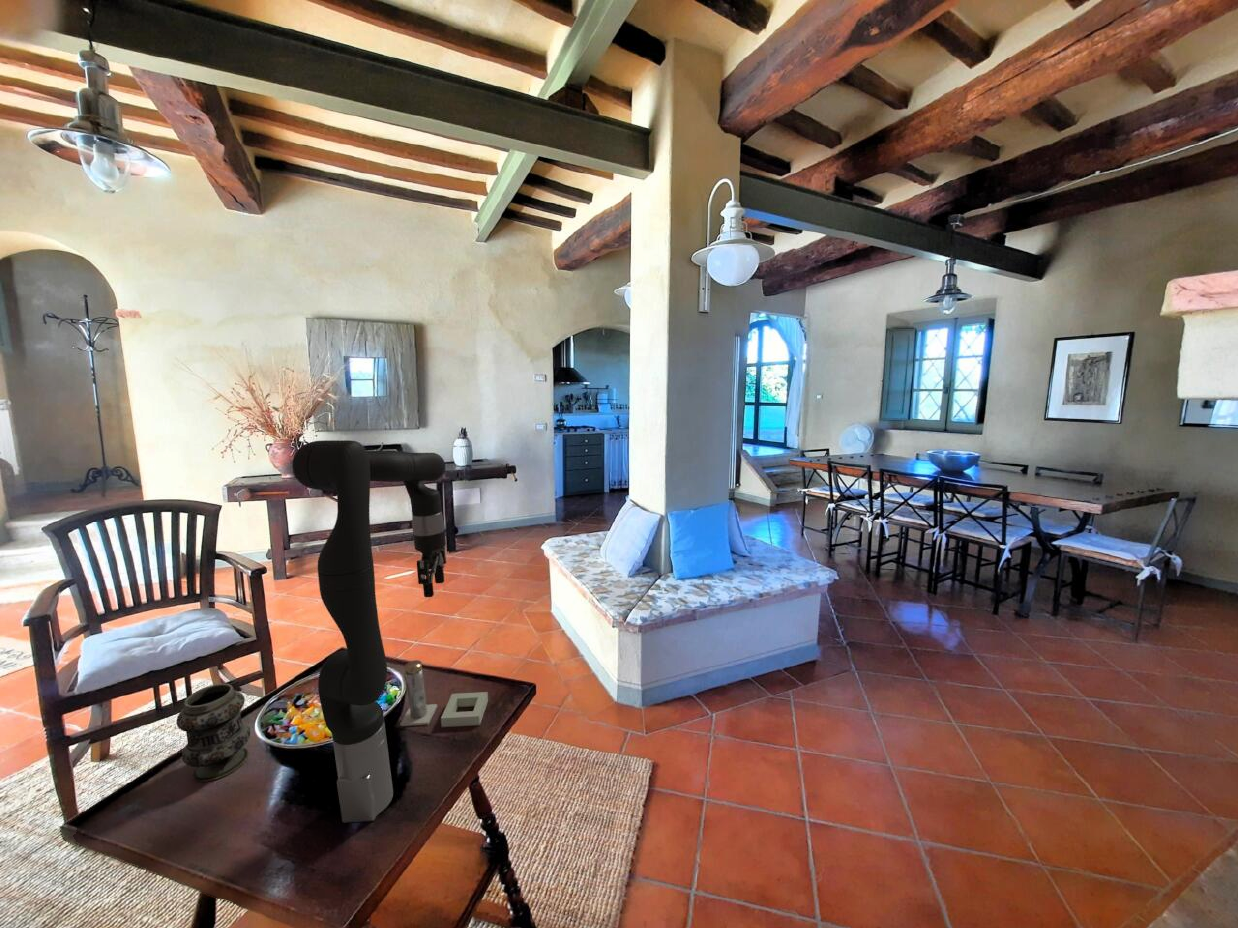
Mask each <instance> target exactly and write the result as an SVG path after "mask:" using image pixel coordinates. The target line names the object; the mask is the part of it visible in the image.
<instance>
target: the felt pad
mask: <svg viewBox="0 0 1238 928" xmlns="http://www.w3.org/2000/svg"><path fill="white" fill-rule="evenodd" d="M426 705H427V714H426V715H425V716H424V717H422V718H420V719H412V718H411V714H410V706H409V708H408V709H407V710H406V713H405V714H404V716H403V717H402V720H401V722H400V723H399V726H400V727H410V726H423V725H424V726H426V725H427V726H428V725H429V724H430V723H431V720H432V718H433V716H434V713H435V712H436V710H437V708H438V704H437V703H434V704H433V703H432V704H426Z"/></svg>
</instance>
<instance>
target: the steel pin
mask: <svg viewBox="0 0 1238 928" xmlns="http://www.w3.org/2000/svg"><path fill="white" fill-rule="evenodd" d="M422 664H423V663H422V661H421V660H418V659H417V660H412V661H409V662H407V663H406V664H405V665H404V673H405V680H406V690H407V696H408V697H407V698H408V705H409V707H410V714H411V718H412V719H420V718H422V717H424V716H425V715H426V714H427V705H428V704H427V698H426V689H425V680H424V672H423V665H422Z"/></svg>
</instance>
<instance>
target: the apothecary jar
mask: <svg viewBox="0 0 1238 928" xmlns="http://www.w3.org/2000/svg"><path fill="white" fill-rule="evenodd" d="M245 701H246V700H245V696H244V695H243V693H242V692H240V691H238V690H235V689H234V687H233V685H232V684H229V683H217V684H212V685H208V686H205V687H204V688H201V689H198V690H196V691H195V692H192V694H190V695H189V696H188V697H186V699H185V700H184V703H183V706H184V707H183V709H182V710H181V711H180V712H179V713H178V715H177V718H176V727H177V728H178V729H180V730H181V731H183V732H185V733H186V741H187V744H185V746H184V748H183V749H182V753H181V760H182V762H183V763H184V764H185V765H186V766H189V767H193V768H196V769H195V770H194V772H193V774H194V775H192V776H194V777H193V780H195V781H196V780H197V782H198V781H199V782H198V783H207V782H208V781H209V782H212V781H217V780H218V779H222V778H224V777H227V776H228V775H230V774H231V773H233V772H235V771H236V770H238V769H239V768H240V767H241V766H243V764H245V762H246V761H247V759H248V758H249V751H248V749H247V748H245V747H244V746H245V745H246V744H247V742H248V741H249V739H250V737H251V728H250V727H249V725H248V724H247V723H245V722H243V721H242V717H241V716H242V714H241V710H242V709H243V708H244V705H245Z"/></svg>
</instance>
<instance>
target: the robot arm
mask: <svg viewBox="0 0 1238 928" xmlns="http://www.w3.org/2000/svg"><path fill="white" fill-rule="evenodd" d="M445 462H446V461H445V460H444V458H443V457H442V456H441V455H440V454H438V453H435V452H409V451H400V450H366V448H365V446H364V445H363V444H362V443H361V442H359V441H356V440H349V439H348V440H324V439H323V440H314V441H311V442H308V443H305V444H303V445H302V446H300V447H299V448H298V449H297V450H296V452H295V454H294V456H293V459H292V472H293V474H294V477H295V478H296V480H297V482H299V483H300V484H301V485H302V486H303V487H306V488H309V489H312V490H316V491H317V490H319V491H335V492H336V499H337V501H336V502H337V514H336V520H335V523H334V525H333V528H332V531H331V532H330V534H329V536H328V538H327V540H326V542H325V543H324V545H323V547H322V549H321V551H320V553H319V556H318V559H317V575H318V576H317V577H318V585H319V592H320V598H321V600H322V603H323V606H324V607H325V609H326V610H327V612H328V613H329V615H330V617H331V619H332V620H333V621H334V623H335V625H336V626H337V627H338V629H339V631H340V633H341V634H342V636H343V640H344V642H345V646H346V649H343V650H339V651H338V650H337V652H333V654H331V655H330V656H329V657H328V658H327V659H326V660H325V661H324V663H323V665H322V667H321V669H320V672H319V675H318V681H317V688H318V689H317V690H318V691H317V692H318V697H319V702H320V707H321V711H322V716H323V721H324V724H325V726H326V728H327V730H329V731H330V734H331V738H332V744H333V750H334V757H335V765H336V766H335V767H336V772H337V780H336V787H337V793H338V800H339V806H340V807H339V808H340V813H341V820H342V821H341V822H342V823H353V822H354V823H355V822H356V823H357V822H358V823H359V822H372V821H375V820H376V818H377V816H379V814H380V813H382V812H383V811H384V810H386V808H387V807H388V806H389V804H390V803H391V802H392V799H393V796H394V788H393V787H394V786H393V780H392V773H391V765H390V757H389V756H390V755H389V748H388V742H387V734H386V725H385V717H384V712H383V710H382V708H381V706H380V705H379V704H378V703H377V702H375V701H376V700H377V699H378V698H379V696H380V695H381V693H382V691H383V689H384V687H385V688H386V682H387V676H388V664H387V657H386V654H385V648H384V644H383V638H382V633H381V629H380V622H379V614H378V607H377V606H378V605H377V599H376V598H377V595H376V583H375V582H376V579H375V567H374V558H373V549H372V537H371V522H370V520H371V519H370V504H371V503H370V501H371V499H370V498H371V482H378V483H379V482H380V483H383V482H384V483H398V482H399V483H401V482H403V484H404V486H405V489H406V492H407V494H408V496H409V499H410V504H411V506H410V507H411V515H412V516H411V526H412V527H411V528H412V536H413V544H414V545H413V546H414V549H415V551H417V552H420V553H421V558H420V560H419V559H418V560H417V561H416V570H417V583H418V585H422V589H423V590H422V591H423V596H424V598H433V596H434V595H435V593H434V584H433V583H434V582H435V584H443V583H444V582H445V574H444V573H445V572H444V569H445V565H446V564H447V558H446V550H445V546H446V545H447V542H446V531H445V523H444V521H445V520H444V517H443V512H442V501H441V495H440V491H438V490H437V489H434V488H431V487H428V486H426V484H425V483H424V482H425V481H426V482H433V481H437V480H439V479H440V478H441V477H443V476H444V473H445V471H446V463H445Z"/></svg>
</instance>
